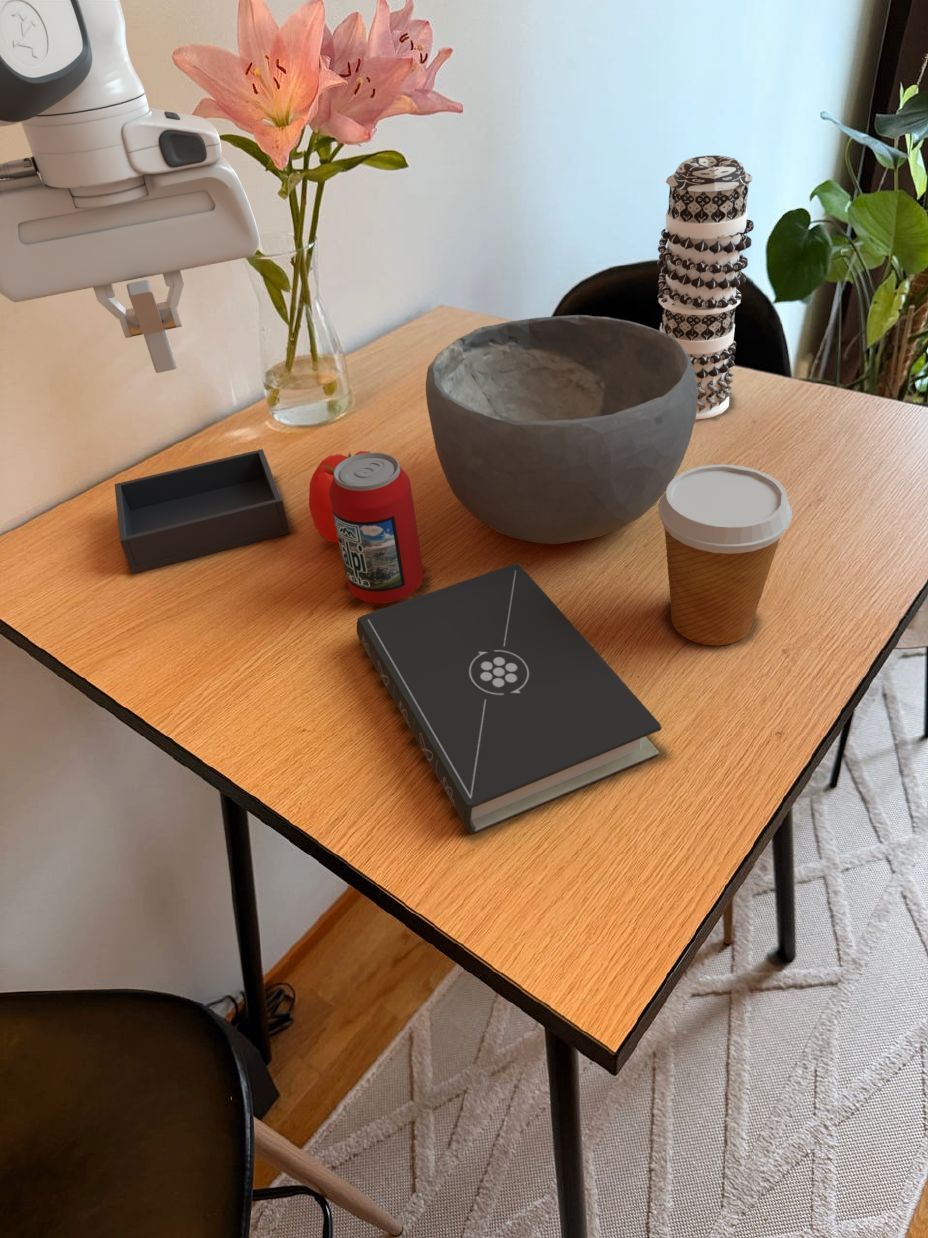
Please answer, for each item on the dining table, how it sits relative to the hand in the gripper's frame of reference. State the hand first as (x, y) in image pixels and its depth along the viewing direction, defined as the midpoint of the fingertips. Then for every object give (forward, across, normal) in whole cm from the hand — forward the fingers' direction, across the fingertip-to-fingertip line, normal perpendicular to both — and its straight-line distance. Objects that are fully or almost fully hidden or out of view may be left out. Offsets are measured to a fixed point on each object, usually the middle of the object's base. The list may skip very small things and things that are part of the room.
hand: (154, 330), depth 75 cm
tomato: (+22, +13, -5) cm, 26 cm away
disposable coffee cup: (+22, +36, -30) cm, 52 cm away
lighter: (+4, 0, 0) cm, 4 cm away
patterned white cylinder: (+22, +54, +4) cm, 58 cm away
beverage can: (+22, +13, -14) cm, 29 cm away
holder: (+21, -1, +4) cm, 22 cm away
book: (+22, +17, -31) cm, 42 cm away
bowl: (+22, +32, -9) cm, 40 cm away
